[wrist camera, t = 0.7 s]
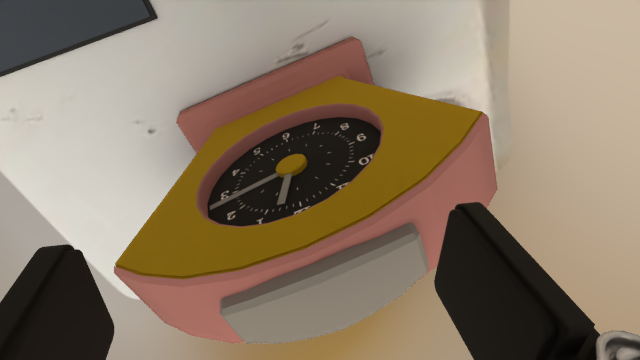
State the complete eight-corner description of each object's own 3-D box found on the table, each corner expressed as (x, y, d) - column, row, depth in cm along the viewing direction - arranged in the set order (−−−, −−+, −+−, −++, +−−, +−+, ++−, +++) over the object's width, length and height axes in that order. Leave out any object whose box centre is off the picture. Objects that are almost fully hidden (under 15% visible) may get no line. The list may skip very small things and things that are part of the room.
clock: (385, 21, 31) (575, 118, 13) (409, 116, 36) (572, 281, 18) (148, 124, 32) (25, 342, 14) (204, 202, 37) (164, 438, 19)
